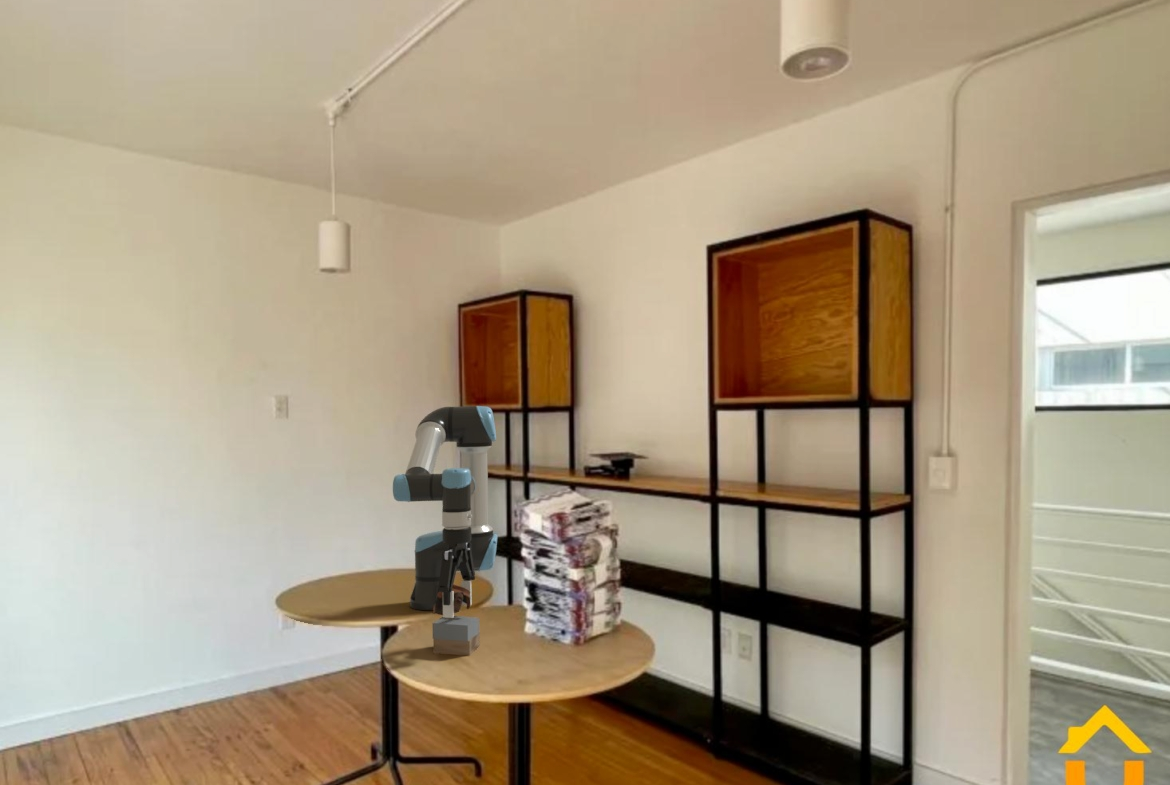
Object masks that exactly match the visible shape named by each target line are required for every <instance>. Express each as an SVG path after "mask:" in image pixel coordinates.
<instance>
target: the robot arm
mask: <svg viewBox="0 0 1170 785" xmlns="http://www.w3.org/2000/svg"><path fill="white" fill-rule="evenodd" d="M415 439H416V440H415V444H414V447H413V450H412V452H411V456H410V459H409V461H408V464H407V466H406V467H407V468H406V471H405V473H402V474H396V475H395V476H394V477H393V481H392V496H393V498H394V500H395V501H397V502H407V503H410V502H436V501H437V502H440V501H441V502H442V510H441V512H442V514H441V515H442V516H441V517H442V518H441V522H442V523H441V526H442V527H444V528H442V530H439V531H438V530H437V531H433V532H427V533H424V534H422V535H421V534H420V535H419V536H418V537H417V538H416V539H415V543H414V545H415V547H414V561H415V562H414V563H415V565H414V566H415V567H414V569H415V570H414V573H415V574H414V576H415V579H414V580H415V581H414V585H413V587H412V588H413V589H412V592H411V594H410V597H409V598H410V599H409V606H410V608H412V609H414V610H419V611H433V607H434V605H435V604H436V598H437V597H438V596H437V594H438V592H443V615H442V617H445V618H453V617H454V616H455V613H454V591H452V588H453V585H454V583H455V578H456V575H457V574H456V573H457V572H460V575H461V579H462V580H460V586H461V587H463V588H466V589H467V590H469V591H470V595H469V597H470V602H471V603H470V607H471V606H472V599H473V598H472V596H473V595H472V593H473V591H472V581H475V579H476V576H475V575H476V572H481V571H490V570H492V569H493V568H494V566H495V561H496V554H497V548H498V546H497V545H498V534H496V533H494V528H493V527H492V526H491V525H490V524H489V477H488V476H489V473H488V451H490V449H491V448H492V447H493V442H495V441H497V431H496V422H495V418H494V413H493V410H492V408H491V407H489V406H485V405H483V406H481V405H472V406H471V405H470V406H467V405H466V406H444V407H440V408H437V409H435V410H433V411H431V412H430V413H428V414H427V415H426V416H424V418H422V419H421V421H420V422H419V423H418V425H417V427H416V430H415ZM447 442H449V443H456V444H455V445H456V449H457V450H458V451H459V452H460V455H461V456H460V457H461V458H460V461H461V464H460V465H461V467H456V468H455V467H452V468H446V469H443V470H442V472H441V473H434V470H435V467H436V462H437V459H438V456H439V451H440V448H441V446H442V445H443V444H444V443H447ZM461 606H467V604H466V603H464V602H463V601H462V604H461Z"/></svg>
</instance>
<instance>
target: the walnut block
mask: <svg viewBox="0 0 1170 785" xmlns="http://www.w3.org/2000/svg"><path fill="white" fill-rule="evenodd" d="M480 635H481V632H479V634H477V635H476V636H475V637H473V638H472V639H470V640H469V641H457V640H444V639H433V638H432V639H433V645H432V646H433V648H432V649H433V654H439V653H441V654H442V655H459V656H460V655H461V656H471V655H472V654H473V653H475V652H476V651H477V650H478V649H479V648H480V647H479V646H481V642H480V641H481V640H480V638H481V636H480ZM478 647H479V648H478ZM477 648H478V649H477ZM441 654H440V655H441Z"/></svg>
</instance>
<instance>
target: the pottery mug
mask: <svg viewBox="0 0 1170 785" xmlns="http://www.w3.org/2000/svg"><path fill="white" fill-rule="evenodd" d="M452 591H454V614H456V613H459V612H460V610H461V607H462V605H461V604H462V601H463V602H464V603H466V604H467V605H466V609H467V610H469V609H470V608H471V606H470V603H471V602H470V597H469V595H470V591H469V590H467V589H466V588H463V587H461V585H457V584H453V588H452ZM437 596H438V597H437V598H436V604H435V605H434V607H433V610H432V614H436V615H439V616H440V615H441V616H443V592H438V594H437Z"/></svg>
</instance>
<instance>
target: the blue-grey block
mask: <svg viewBox="0 0 1170 785" xmlns="http://www.w3.org/2000/svg"><path fill="white" fill-rule="evenodd" d="M479 633H480V617H476V616H475V617H474V616H473V617H471V616H459V615H458V616H457V615H454V617H453V618H445V617H443V616H442V617H440V618H439V619H437V620H435V621H434V622H432V639H444V640H457V641H469V640H470V639H472V638H473V637H475V636H476V635H477V634H479Z"/></svg>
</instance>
